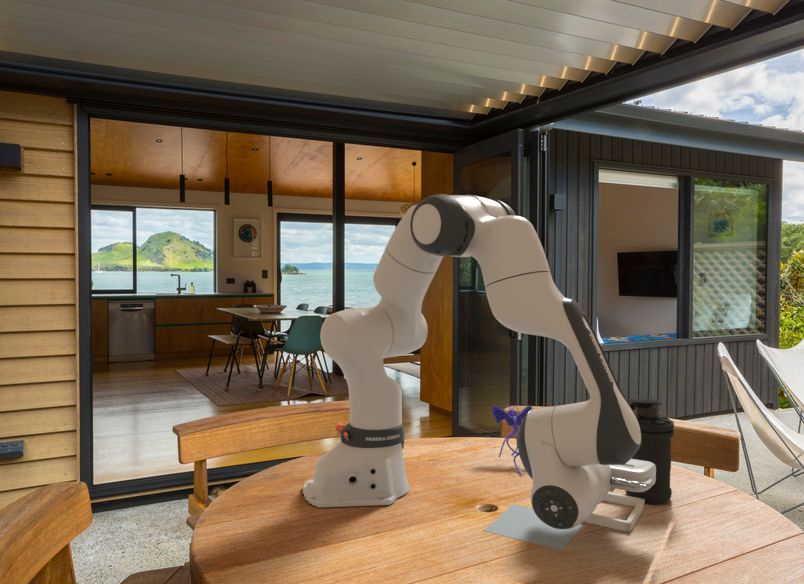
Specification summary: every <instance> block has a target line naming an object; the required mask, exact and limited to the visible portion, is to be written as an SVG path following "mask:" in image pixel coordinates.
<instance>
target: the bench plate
mask: <svg viewBox="0 0 804 584" xmlns="http://www.w3.org/2000/svg"><path fill="white" fill-rule="evenodd" d="M584 524H585V522H582V523H581V524H579V525H578V526H576V527H574V528H571V529H565V530H562V529H556V528H553V527H550V526H548V525H546V524H545V523H543V522H542V521H541V520H540V519H539V518H538V517H537V516H536V514H535V513H534V511H533V508H532V507H528V506H524V505H520V504H516V503H513V504H511V506H509V507H508V508H507V509H506V510H505V511H504V512H502V514H500V515H498V517H497V518H496V519H495V520H494V521H493V522H491V523H490V524H489V525H487V527H485V528H484V529H483V530H482V531H483V532H487V533H491V534H495V535H499V536H503V537H507V538H510V539H515V540H518V541H522V542H527V543H530V544H534V545H538V546H542V547H546V548H549V549H554V550H557V551H564V550H565V548H566V547H567V546H568V545H569V543H570V541H571V540H573V538H574V537H575V535H576V534H578V531H580V529H581V528H582V527H583V525H584Z"/></svg>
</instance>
